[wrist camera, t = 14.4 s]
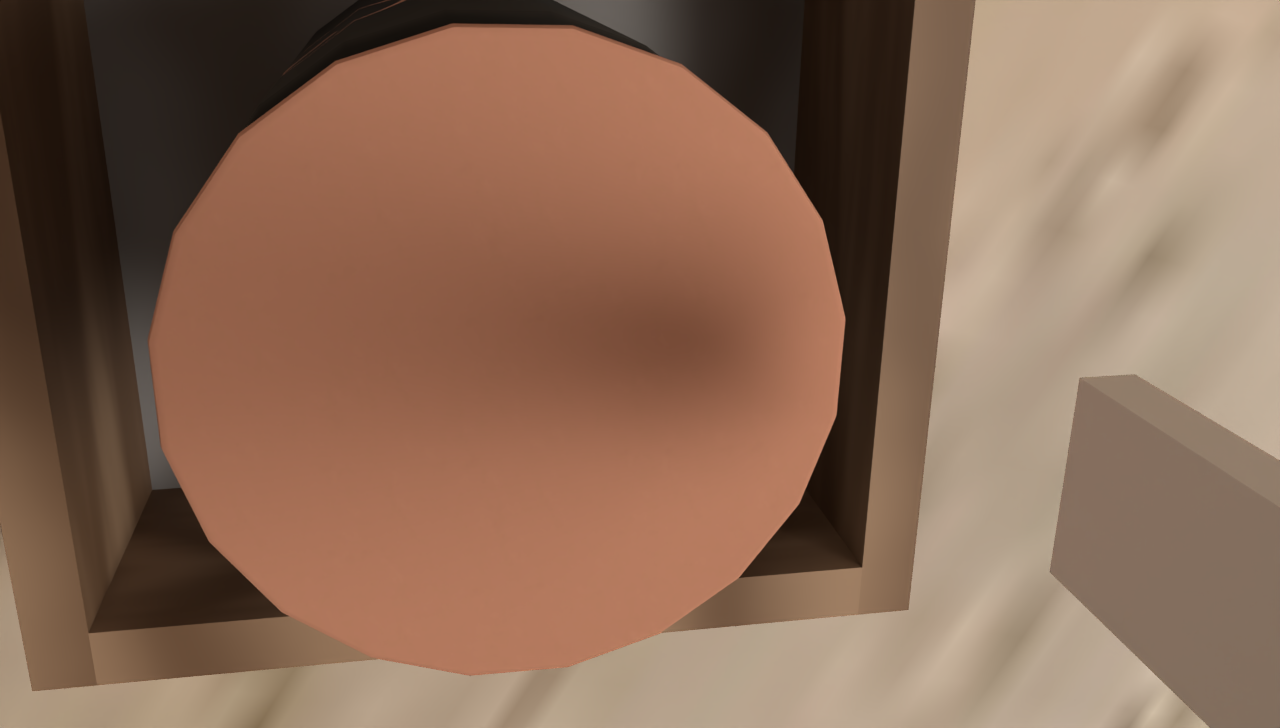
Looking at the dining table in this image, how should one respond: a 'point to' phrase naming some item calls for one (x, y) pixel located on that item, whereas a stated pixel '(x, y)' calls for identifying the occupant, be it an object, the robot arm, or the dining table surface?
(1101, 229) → the dining table surface
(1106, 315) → the dining table surface
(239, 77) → the open wooden box
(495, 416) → the coffee jar
